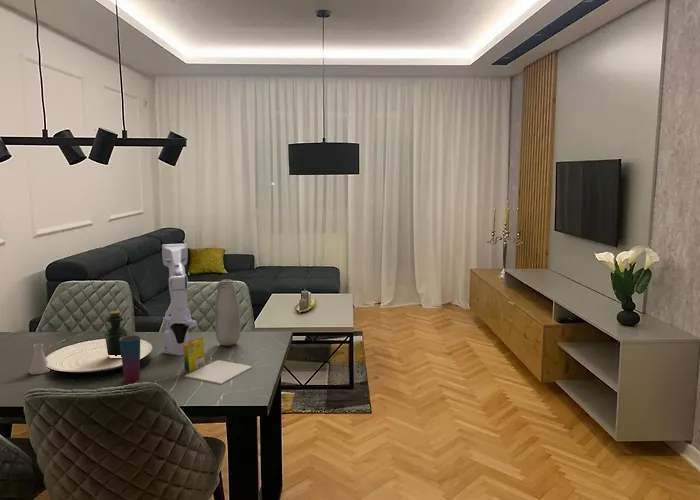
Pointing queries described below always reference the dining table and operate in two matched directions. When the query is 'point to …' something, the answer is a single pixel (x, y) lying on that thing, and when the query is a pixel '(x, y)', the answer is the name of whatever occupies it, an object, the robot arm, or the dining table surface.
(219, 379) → the mat
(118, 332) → the potion bottle
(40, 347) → the flask
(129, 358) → the cup
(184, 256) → the robot arm
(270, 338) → the dining table surface
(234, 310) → the tall grey vase
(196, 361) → the crayon box
